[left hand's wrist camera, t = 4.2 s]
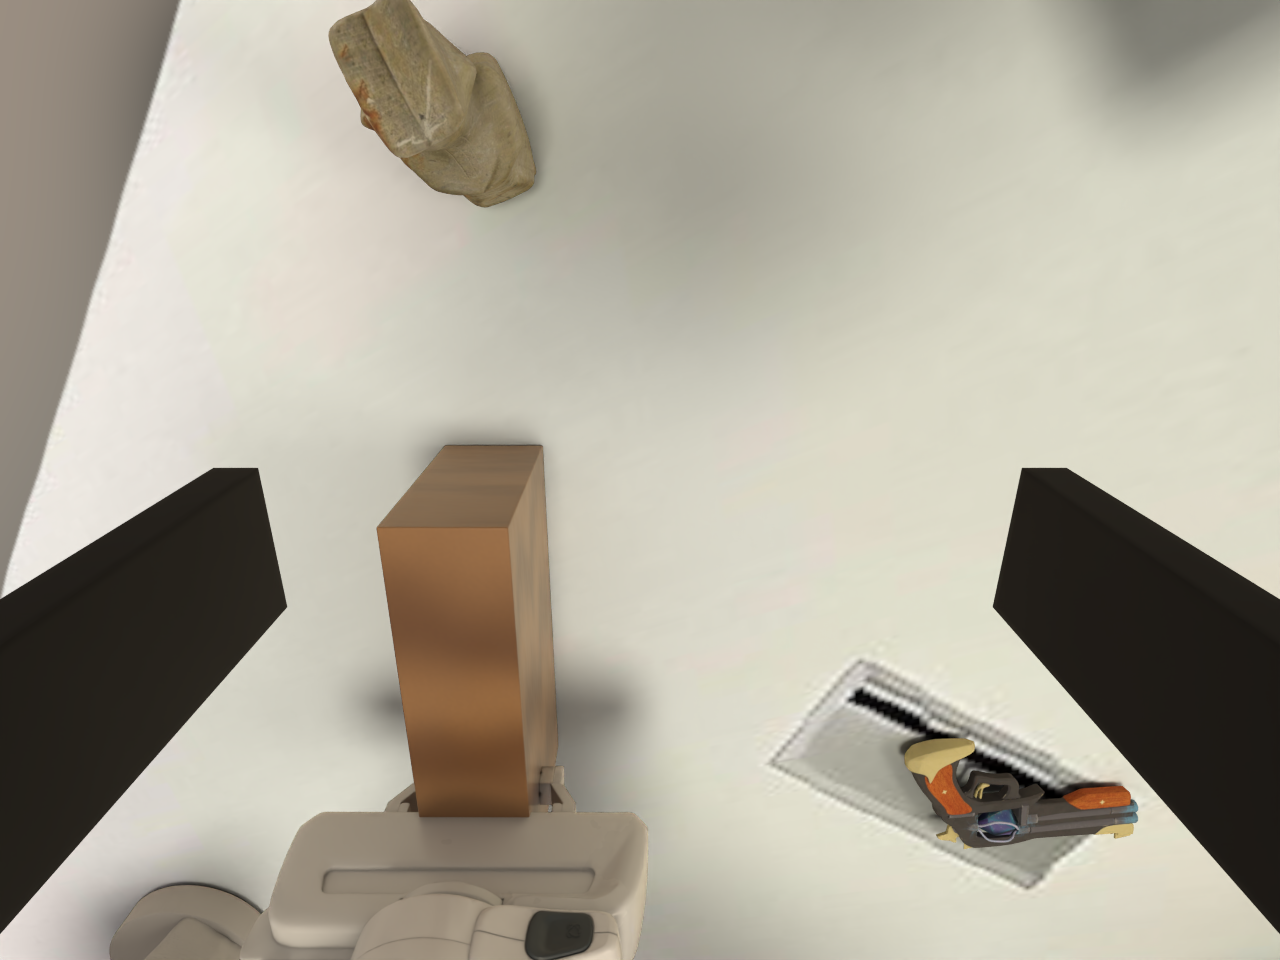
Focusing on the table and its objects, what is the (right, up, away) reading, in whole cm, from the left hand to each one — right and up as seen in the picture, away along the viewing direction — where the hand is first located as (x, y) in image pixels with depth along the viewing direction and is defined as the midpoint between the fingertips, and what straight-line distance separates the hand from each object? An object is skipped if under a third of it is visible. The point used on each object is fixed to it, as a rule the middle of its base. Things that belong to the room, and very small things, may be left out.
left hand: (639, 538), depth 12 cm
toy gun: (+30, -23, +44) cm, 58 cm away
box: (-10, -8, +38) cm, 40 cm away
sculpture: (-8, +20, +27) cm, 35 cm away
